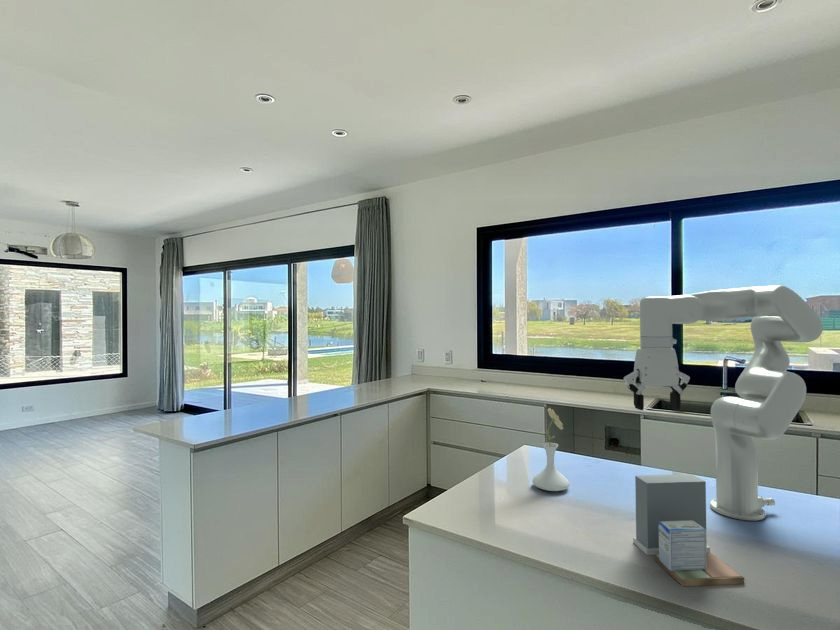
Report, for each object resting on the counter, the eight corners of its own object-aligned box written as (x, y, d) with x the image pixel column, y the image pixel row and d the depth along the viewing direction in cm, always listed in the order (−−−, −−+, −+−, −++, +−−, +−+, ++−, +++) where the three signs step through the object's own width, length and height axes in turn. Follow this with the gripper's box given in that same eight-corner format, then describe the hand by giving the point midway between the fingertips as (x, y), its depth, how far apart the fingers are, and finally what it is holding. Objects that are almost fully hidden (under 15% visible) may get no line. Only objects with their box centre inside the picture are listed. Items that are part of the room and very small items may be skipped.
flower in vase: (569, 496, 137) (568, 414, 137) (531, 492, 140) (530, 412, 141) (569, 481, 149) (568, 406, 150) (534, 478, 153) (533, 404, 153)
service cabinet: (693, 539, 110) (692, 473, 110) (710, 552, 104) (709, 482, 104) (633, 542, 109) (632, 475, 109) (646, 555, 103) (645, 484, 103)
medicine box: (693, 559, 99) (693, 519, 99) (707, 570, 94) (706, 529, 94) (658, 560, 98) (657, 520, 98) (670, 571, 94) (669, 530, 94)
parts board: (710, 557, 102) (709, 551, 102) (744, 583, 92) (744, 577, 92) (654, 559, 101) (654, 553, 101) (682, 586, 91) (682, 579, 91)
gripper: (679, 342, 123) (680, 405, 122) (617, 343, 122) (618, 406, 121) (697, 343, 115) (698, 410, 115) (631, 344, 114) (632, 412, 114)
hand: (657, 408), depth 118 cm, fingers open, 9 cm apart
